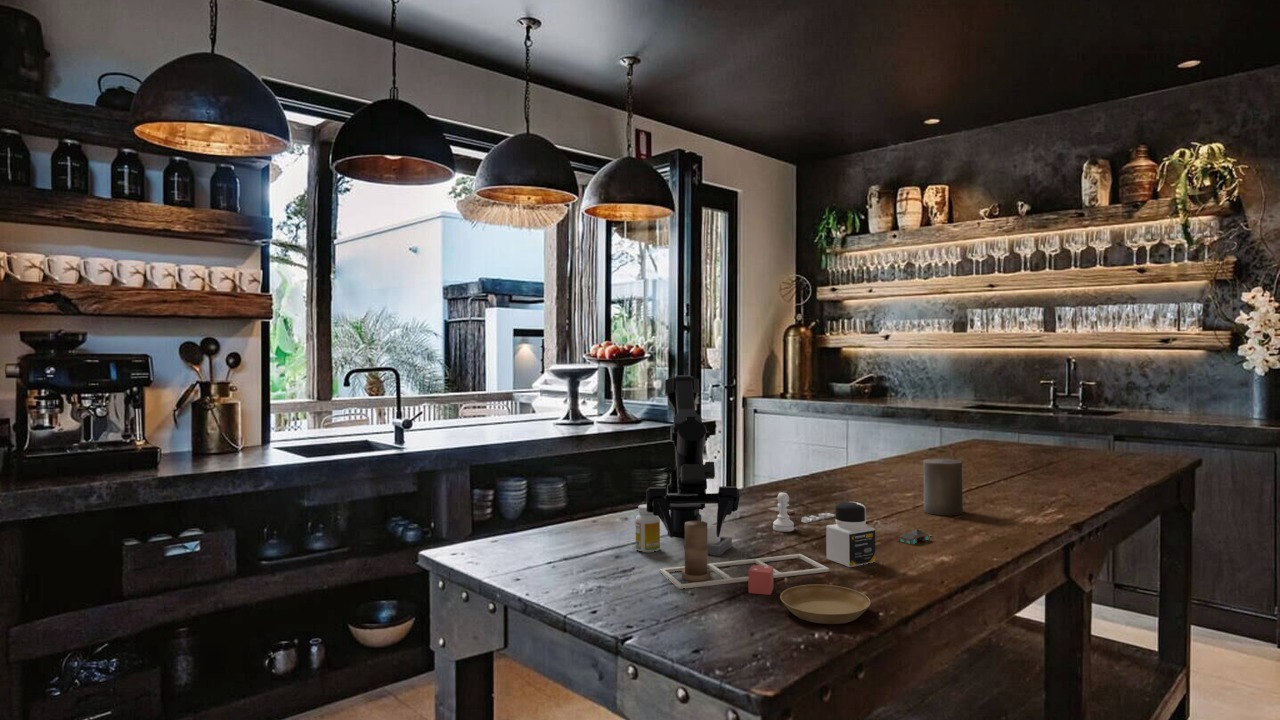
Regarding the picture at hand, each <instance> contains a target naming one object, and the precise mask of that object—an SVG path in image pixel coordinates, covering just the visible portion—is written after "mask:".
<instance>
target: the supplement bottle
mask: <svg viewBox="0 0 1280 720" xmlns="http://www.w3.org/2000/svg"><path fill="white" fill-rule="evenodd" d="M637 507H638V510H637V511H638V515H636V517H635V550H636V549H637V550H639V551H644V552H643V553H655V552H654V551H656V552H658V551H659V550H660V548H661V532H660V531H661V528H660V527H661V523H660V522H661V519H660V518H659V517H658V516H655V515H653V513H649V512H647V503H645V504H639V505H638V506H637ZM637 550H636V551H637ZM639 551H638V552H639Z"/></svg>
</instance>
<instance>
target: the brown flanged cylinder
mask: <svg viewBox="0 0 1280 720" xmlns="http://www.w3.org/2000/svg"><path fill="white" fill-rule="evenodd" d="M707 523H708V522H707V521H703V520H701V521H688V522H685V537H684V566H685V569H684V570H683V571H681V578H682V579H683V580H684V579H685V580H684V581H687V580H688V581H687V582H692V581H693V582H692V583H696V582H705V581H710V579H711V577H712V576H711V575H712V574H711V571H710V569H708V568H707V564H708V554H707Z"/></svg>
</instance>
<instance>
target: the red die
mask: <svg viewBox="0 0 1280 720" xmlns="http://www.w3.org/2000/svg"><path fill="white" fill-rule="evenodd" d="M773 568H774V566H772V565H769V566H761V565H758V564H751V566H750V568H749V569H748V573H747V574H748V576H747V577H748V581H747V582H748V585H747V586H748V587H747V588H748V589H747V590H748V591H747V592H748V594H757V595H769V596H771V595H772V593H773V590H774V578H773Z"/></svg>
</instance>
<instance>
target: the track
mask: <svg viewBox="0 0 1280 720" xmlns="http://www.w3.org/2000/svg"><path fill="white" fill-rule="evenodd" d="M791 559H792V560H793V559H800V560H802V561H805V562H806V563H807V564H810V565H812V566H814V567H816V568H811V569H809V568H807V569H800V570H793V571H784V572H783V571H782V572H780V571H779V570H777V569H775V568H774V567H773V579H776V578H786V577H793V576H802V575H809V574H812V575H813V574H818V573H828V572H830V568H829V567H827V566H825V565H824V564H821V563H819V562H818V561H815V560H813V559H812V558H809V557H807V556H805V555H803V554H802V553H794V554H787V555H786V554H784V555H778V556H768V557H767V556H766V557H759V558H758V557H756V558H749V559H741V560H740V559H739V560H730V561H721V562H720V561H719V562H713V563H707V569H709V570H711V571H713V572H714V573H716V574H717V576H719V577H721V578H723V579H713V580H707V581H702V582H690V583H689V582H688V583H681V582H680V581H679V580H678V579H676V578H675V577H674V576H673V575H672V574H670V573H675V571H676V572H682V571H683V570H684V569H685V565H684V566H683V565H682V566H675V567H674V566H673V567H665V568H659V571H658V572H659V574H661V573H662V574H663V575H662V574H661V575H662V576H664V577H665V578H666V579H667V580H668V579H669V580H668V581H670V582H671V583H672V584H673V585H674V586H675V587H676V588H677V589H679V590H683V588H685V589H690V588H691V589H692V588H693V589H694V588H700V587H701V588H702V587H709V586H710V587H711V586H716V585H726V584H734V583H742V582H748V576H741V577H740V576H739V577H732V576H730V575H729V574H727V573H726V572H724V571H723V570H722V569H719V568H720V567H728V566H731V567H732V566H739V565H746V564H748V565H749V564H755V565H761V566H770V565H769V564H767V562H774V561H785V560H791ZM765 562H766V563H765Z"/></svg>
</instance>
